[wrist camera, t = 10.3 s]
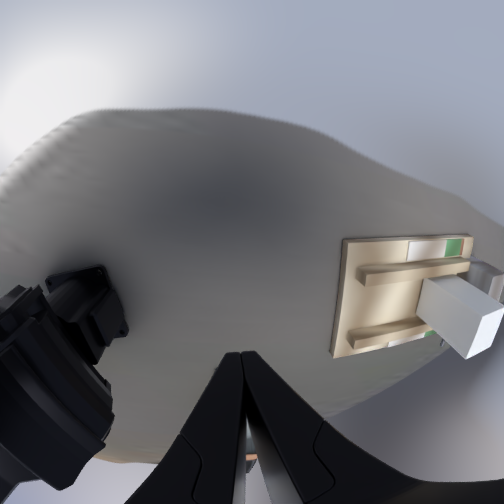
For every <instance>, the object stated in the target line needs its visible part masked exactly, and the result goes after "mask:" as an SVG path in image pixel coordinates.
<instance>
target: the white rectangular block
mask: <svg viewBox="0 0 504 504" xmlns="http://www.w3.org/2000/svg"><path fill="white" fill-rule="evenodd" d="M503 313H504V305H503V304H501V303H500V302H498V301H497V300H495V299H493V298H492V297H490V296H489V295H487V294H486V293H484V292H483V291H481V290H479V289H478V288H476V287H475V286H473V285H471V284H470V283H468V282H466V281H465V280H463V279H462V278H460V277H458V276H456V275H455V274H449V275H443V276H437V277H431V278H425V279H424V281H423V285H422V290H421V294H420V299H419V303H418V307H417V311H416V315H417V316H419V317H420V318H421V319H422V320H423V321H424V322H425V323H427V324H428V325H429V326H430V327H431V328H432V329H433V330H434V331H435V332H437V333H438V334H439V335H440V336H441V337H442V341H441V343H440V346H441V347H442V346H443V345H444V342H445V341H446V342H447V343H448V344H450V345H451V346H452V347H453V348H454V349H455V350H456V351H457V352H458V353H459V354H460V355H461V356H462V357H463V358H464V359H467V358H469V357H471V356H473V355H475V354H477V353H479V352H481V351H483V350H485V349H487V348H488V347H490V346H491V344H492V341H493V339H494V337H495V334H496V332H497V329H498V327H499V324H500V321H501V319H502V316H503Z"/></svg>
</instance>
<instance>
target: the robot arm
mask: <svg viewBox="0 0 504 504" xmlns="http://www.w3.org/2000/svg"><path fill="white" fill-rule="evenodd" d="M98 270H100V271H101V272H102V274H100V273H99V272H98ZM50 281H51V282H52V284H51V283H50ZM45 282H46V285H47V288H48V291H49V293H50V294H49V295H48V296H47V297H46V298H45V297H44V295H43V293H42V292H43V290H42V289H41V287H40V285H37V286H35V287H34V288H32V287H29V288H27V289H26V288H24V287H22V286H20V285H18V286H16V287H15V288H14V289H13V290H11V291H10V292H9V293H7V294H6V295H5V296H4V297H3V298H1V299H0V504H3V503H4V502H5V500H6V499H7V498H8V497H9V495H10V494H11V493H12V492H13V490H14V489H15V488H16V487H17V486H18V485H19V484H20V483H22V482H29V481H36V480H43V481H44V482H46V483H47V484H49V485H50V486H52V487H53V488H55V489H56V490H59V491H60V490H63V489H65V488H67V487H69V486H71V485H73V484H74V482H75V480H76V479H77V477H78V475H79V474H80V472H81V470H82V469H83V467H84V466H85V464H86V463H87V462H88V461H89V460H90V459H91V458H92V457H93V456H94V455H95V454H96V453H98V452H99V451H101V450H102V449H103V448H105V446H106V444H105V443H104V440H105V439H106V437H107V436H108V434H109V432H110V429H111V426H112V424H113V421H114V416H115V415H114V413H113V412H112V403H113V399H112V396H111V384H110V383H109V382H108V381H107V380H106V379H105V380H104V378H103V377H102V376H101V375H100V374H99V373H98V371H97V370H96V369H95V368H94V367H93V365H96V364H98V362H99V360H100V358H101V356H102V354H103V352H104V350H105V348H106V347H109V346H110V344H111V342H112V340H113V338H120V337H126V336H127V335H128V332H129V329H128V327H127V325H126V322H125V320H124V317H125V316H124V313H123V311H122V308H121V306H120V303H119V300H118V298H117V295H116V292H115V290H114V289H112V286H111V283H110V280H109V277H108V275H107V272H106V269H105V267H104V266H102V265H96V266H91V267H87V268H82V269H78V270H73V271H69V272H64V273H60V274H55V275H51V276H49V277H47V278H46V280H45ZM121 330H124V332H122V331H121ZM246 415H247V417H246ZM247 421H248V426H249V430H250V433H251V437H252V440H253V444H254V447H255V451H256V454H257V457H258V461H259V464H260V467H261V470H262V474H263V477H264V480H265V483H266V487H267V490H268V493H269V496H270V499H271V502H272V504H504V479H499V480H490V481H476V482H430V481H423V480H419V479H415V478H412V477H410V476H407V475H405V474H403V473H401V472H400V471H398V470H396V469H394V468H392V467H391V466H389V465H387V464H386V463H384V462H382V461H381V460H379V459H377V458H376V457H374V456H372V455H371V454H369V453H368V452H366V451H364V450H363V449H362V448H360V447H359V446H357V445H356V444H354V443H353V442H351V441H350V440H349V439H347V438H346V437H345V436H344V435H342V434H341V433H340V432H339V431H338V430H336V429H335V428H334V427H333V426H332V425H330V423H328V421H326V420H324V418H323V417H322V416H321V415H320V414H319V413H318V412H316V411H315V410H314V409H313V408H312V407H311V406H310V405H309V404H308V403H307V402H306V401H305V400H304V399H303V398H302V397H301V396H300V395H299V394H297V393H296V392H295V391H294V390H293V389H292V388H291V387H290V386H289V385H288V384H287V383H286V382H285V381H284V380H283V379H282V378H281V377H280V376H279V375H278V374H277V373H276V372H275V371H274V370H273V369H272V368H271V367H270V366H269V365H268V364H267V363H266V362H265V361H264V360H263V359H262V357H261V356H260V355H259V354H258V353H257V352H256V351H243V352H241V354H240V352H228V353H226V354H225V355H224V357H223V359H222V360H221V362H220V364H219V366H218V367H217V369H216V371H215V373H214V374H213V376H212V378H211V380H210V381H209V383H208V385H207V387H206V388H205V390H204V392H203V394H202V395H201V397H200V399H199V400H198V402H197V404H196V406H195V407H194V409H193V411H192V412H191V414H190V416H189V417H188V419H187V421H186V423H185V424H184V426H183V428H182V429H181V431H180V434H178V436H177V437H176V439H175V441H174V442H173V444H172V446H171V447H170V449H169V450H168V452H167V453H166V455H165V456H164V458H163V459H162V460H161V462H160V463H159V464H158V465H157V467H156V468H155V469H154V470H153V472H152V473H151V474H150V475H149V476H148V478H147V479H146V480H145V481H144V482H143V483H142V484H141V486H140V487H139V488H138V489H137V490H136V491H135V492H134V493H133V494H132V495H131V497H130V498H129V499H128V500H127V501H126V502H125V503H124V504H245V484H246V482H245V481H246V444H247Z"/></svg>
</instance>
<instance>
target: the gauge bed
mask: <svg viewBox="0 0 504 504" xmlns="http://www.w3.org/2000/svg"><path fill="white" fill-rule="evenodd" d="M473 239H474V237H473V236H470V235H468V234H464V235H438V236H413V237H390V238H367V239H346V240H343V246H342V259H341V270H340V280H339V289H338V298H337V306H336V313H335V321H334V328H333V334H332V341H331V347H330V353H331V355H332V357H333V358H338V357H343V356H348V355H353V354H358V353H362V352H367V351H371V350H376V349H380V348H384V347H390V346H394V345H398V344H402V343H405V342H409V341H412V340H416V339H419V338H423V337H426V336H429V335H432V334H435V333H437V332H435V331H434V330H433V329H432V328H431V327H430V326H429V325H428V324H427V323H425V322H424V321H423V320H422V319H421V318H420V317H419V316H417V315H416V311H417V307H418V303H419V299H420V294H421V290H422V285H423V281H424V279H425V278H431V277H437V276H443V275H449V274H455V275H456V276H458V277H460V278H462V279H463V280H465V281H466V282H468V283H470V284H471V285H473V286H475V287H476V288H478V289H479V290H481V291H483V292H484V293H486V294H487V295H489V296H490V297H492V298H493V299H495V300H497V301H499V298H500V295H501V292H502V288H503V285H504V272H503V271H501V270H499V269H497V268H495V267H493V266H491V265H489V264H488V263H486V262H484V261H482V260H480V259H478V258H476V257H474V256H472V255H471V251H472V245H473Z"/></svg>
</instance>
